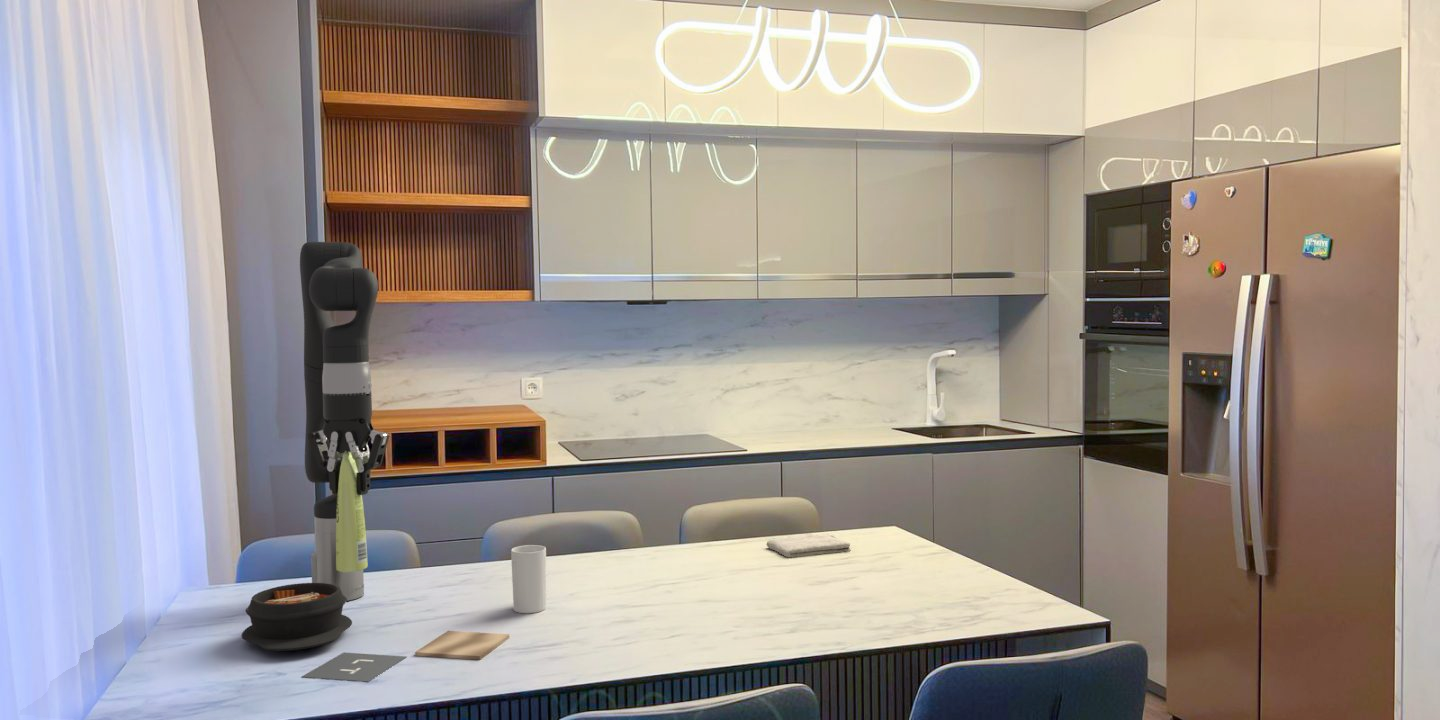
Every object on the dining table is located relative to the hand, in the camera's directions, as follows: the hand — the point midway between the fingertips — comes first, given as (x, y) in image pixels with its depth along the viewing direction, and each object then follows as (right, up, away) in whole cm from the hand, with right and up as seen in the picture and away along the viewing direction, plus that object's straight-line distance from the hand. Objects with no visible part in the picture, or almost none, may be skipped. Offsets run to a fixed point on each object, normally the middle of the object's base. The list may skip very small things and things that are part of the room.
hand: (350, 493), depth 170 cm
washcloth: (+83, -25, +81) cm, 119 cm away
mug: (+23, -27, +35) cm, 50 cm away
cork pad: (+16, -28, +11) cm, 34 cm away
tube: (0, -13, +1) cm, 13 cm away
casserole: (-16, -29, +17) cm, 37 cm away
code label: (0, -30, +1) cm, 30 cm away
